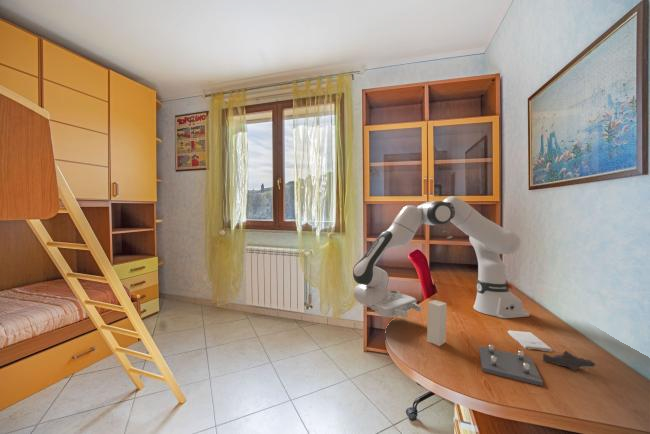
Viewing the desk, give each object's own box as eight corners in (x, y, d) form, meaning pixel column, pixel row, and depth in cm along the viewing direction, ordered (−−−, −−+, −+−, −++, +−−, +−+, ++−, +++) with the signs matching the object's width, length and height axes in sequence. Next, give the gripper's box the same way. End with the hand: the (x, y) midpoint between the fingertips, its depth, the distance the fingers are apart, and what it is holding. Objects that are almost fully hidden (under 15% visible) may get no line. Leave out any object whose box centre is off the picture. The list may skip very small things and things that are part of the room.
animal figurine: (544, 368, 82) (541, 351, 83) (543, 361, 86) (540, 345, 86) (598, 375, 76) (595, 357, 76) (594, 368, 79) (590, 350, 80)
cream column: (433, 337, 98) (434, 299, 98) (445, 342, 95) (446, 303, 95) (426, 341, 96) (428, 302, 95) (439, 346, 92) (440, 305, 92)
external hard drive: (531, 336, 102) (552, 353, 90) (507, 334, 104) (525, 350, 91) (531, 332, 102) (552, 348, 90) (507, 330, 104) (525, 345, 91)
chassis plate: (479, 349, 90) (479, 338, 90) (530, 360, 84) (531, 349, 84) (482, 371, 78) (482, 358, 78) (542, 386, 71) (543, 372, 71)
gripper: (368, 299, 107) (397, 309, 96) (399, 290, 119) (427, 298, 109) (368, 314, 107) (397, 326, 96) (399, 304, 120) (427, 313, 109)
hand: (413, 311), depth 102 cm, fingers open, 8 cm apart
